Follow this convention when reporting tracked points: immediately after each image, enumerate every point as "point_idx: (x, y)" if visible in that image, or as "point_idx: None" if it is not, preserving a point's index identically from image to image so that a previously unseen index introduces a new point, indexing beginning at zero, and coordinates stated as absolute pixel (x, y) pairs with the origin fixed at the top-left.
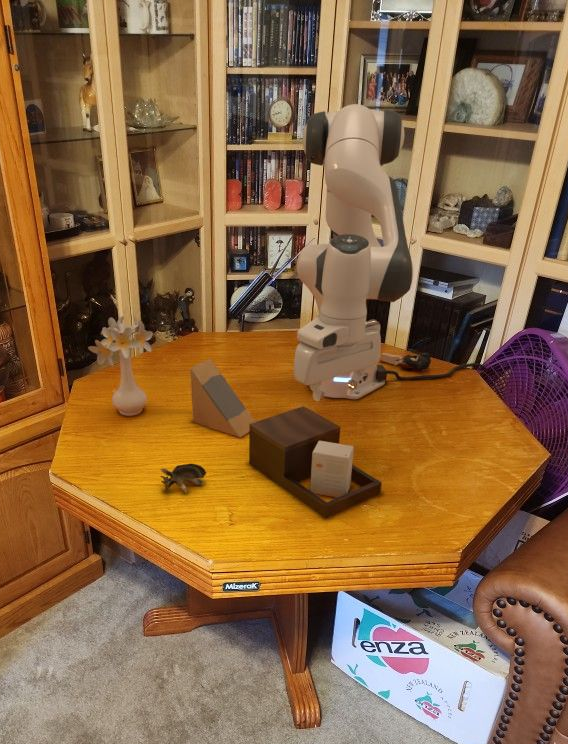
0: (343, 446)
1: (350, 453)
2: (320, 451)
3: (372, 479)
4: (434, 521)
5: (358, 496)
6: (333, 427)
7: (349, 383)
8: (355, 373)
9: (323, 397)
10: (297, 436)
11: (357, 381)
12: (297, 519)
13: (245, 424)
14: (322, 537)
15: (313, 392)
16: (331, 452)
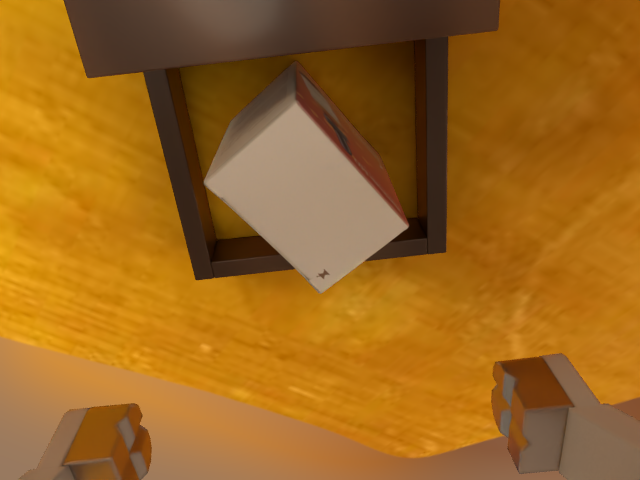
0: (364, 211)
1: (352, 269)
2: (240, 197)
3: (433, 225)
4: (457, 381)
5: None
6: (458, 16)
7: (511, 408)
8: (636, 471)
9: (142, 472)
10: (208, 2)
11: (564, 474)
12: (119, 223)
13: None
14: (151, 317)
15: (44, 463)
16: (282, 227)
